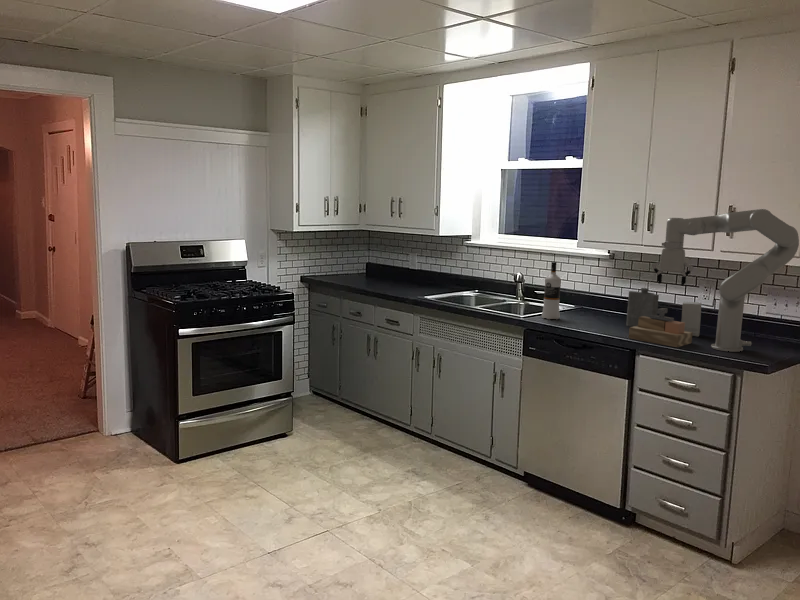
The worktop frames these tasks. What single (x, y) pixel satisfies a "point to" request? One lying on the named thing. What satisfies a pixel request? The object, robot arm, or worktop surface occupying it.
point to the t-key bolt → (662, 315)
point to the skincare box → (691, 317)
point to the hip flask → (641, 306)
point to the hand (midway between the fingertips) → (671, 284)
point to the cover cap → (674, 327)
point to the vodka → (552, 295)
